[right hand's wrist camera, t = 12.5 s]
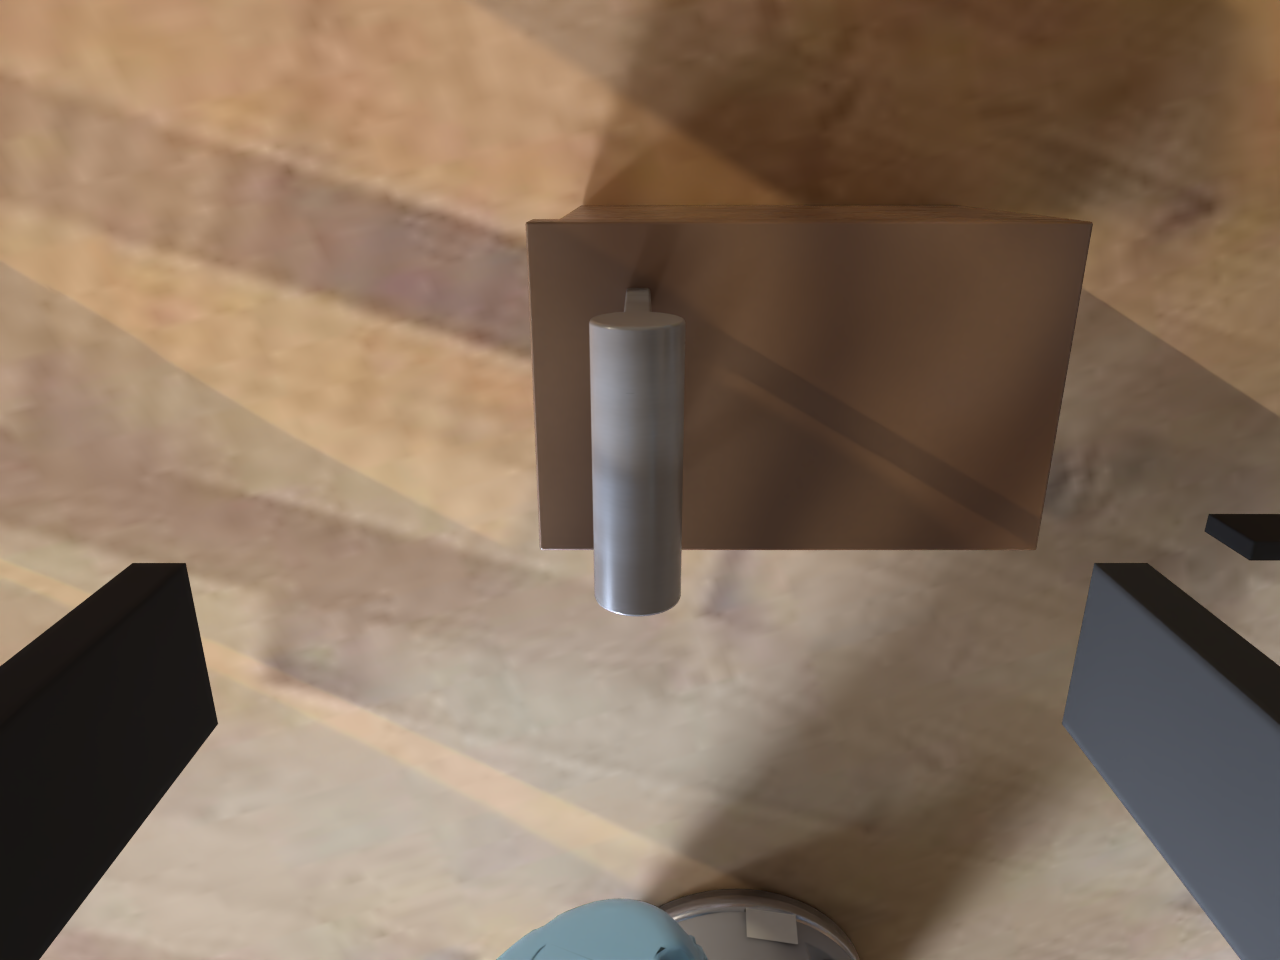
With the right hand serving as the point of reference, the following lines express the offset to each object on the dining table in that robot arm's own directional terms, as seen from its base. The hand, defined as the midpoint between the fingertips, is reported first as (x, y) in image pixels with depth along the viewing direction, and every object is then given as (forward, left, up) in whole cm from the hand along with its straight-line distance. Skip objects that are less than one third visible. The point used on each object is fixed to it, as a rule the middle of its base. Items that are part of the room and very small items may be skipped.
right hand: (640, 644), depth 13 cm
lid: (+3, -4, -16) cm, 16 cm away
